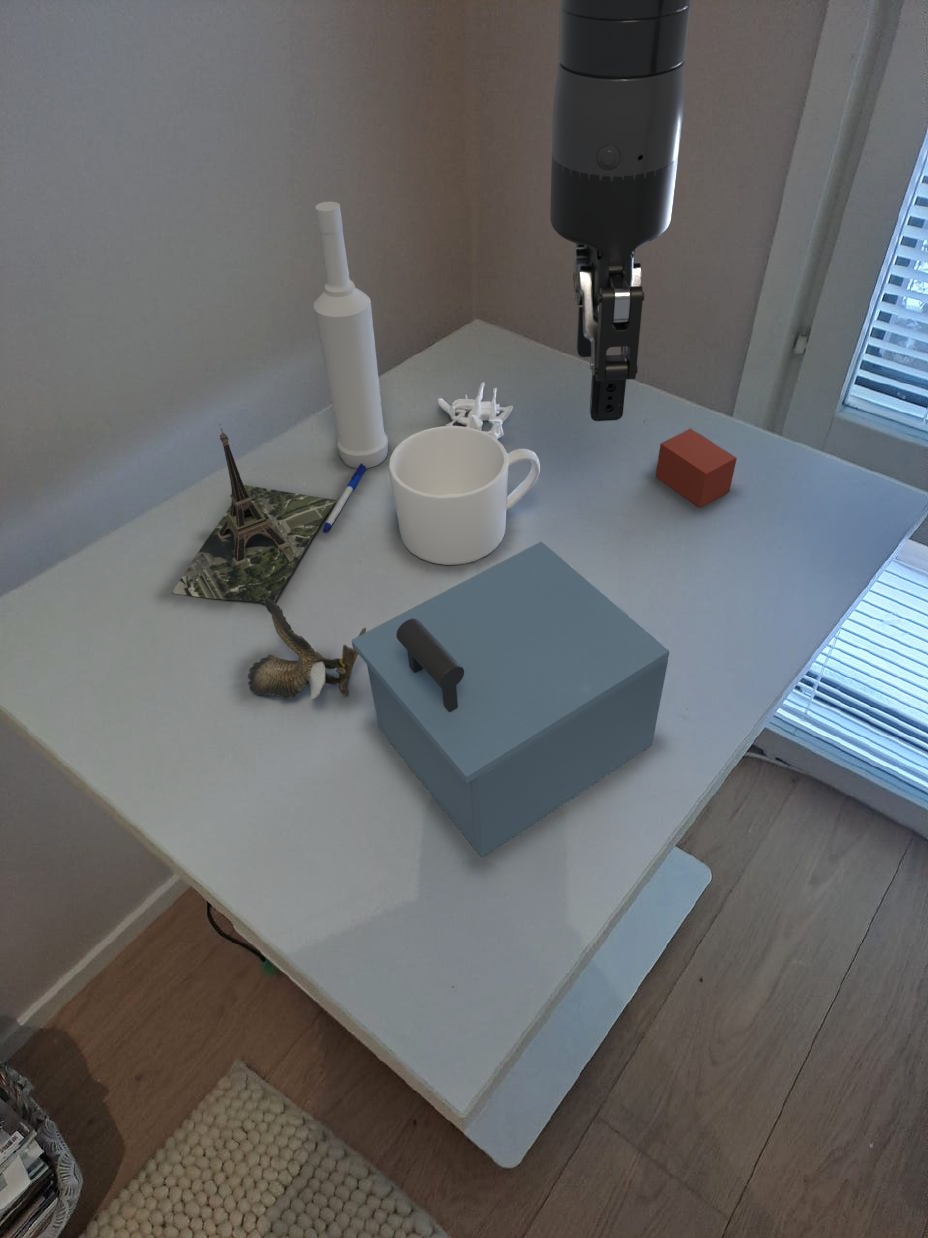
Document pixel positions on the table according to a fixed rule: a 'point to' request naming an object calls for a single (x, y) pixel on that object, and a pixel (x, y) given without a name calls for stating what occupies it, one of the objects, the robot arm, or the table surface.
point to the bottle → (348, 350)
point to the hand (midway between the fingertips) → (598, 384)
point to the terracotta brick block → (695, 467)
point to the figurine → (478, 412)
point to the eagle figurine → (298, 665)
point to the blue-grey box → (528, 760)
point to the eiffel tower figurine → (253, 542)
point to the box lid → (507, 657)
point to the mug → (454, 492)
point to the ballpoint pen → (344, 496)
